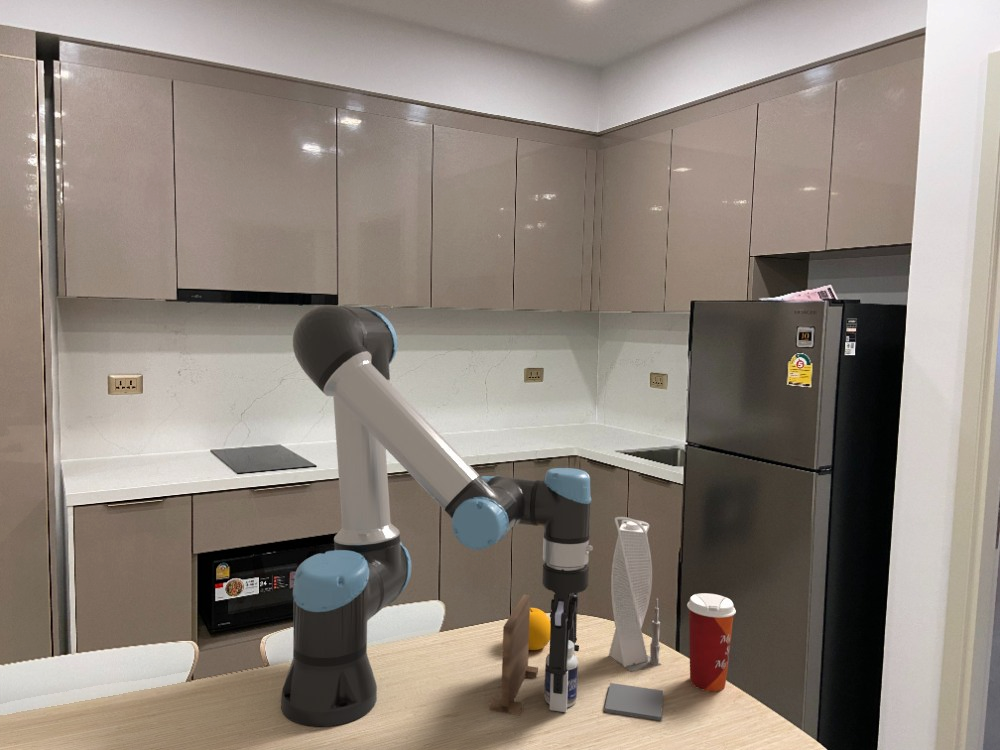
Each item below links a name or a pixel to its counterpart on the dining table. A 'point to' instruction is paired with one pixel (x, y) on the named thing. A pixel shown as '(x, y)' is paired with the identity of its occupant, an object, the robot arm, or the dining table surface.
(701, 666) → the coffee cup
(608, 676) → the dining table surface
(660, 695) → the coaster
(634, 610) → the skyscraper
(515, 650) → the screen
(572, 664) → the pill bottle
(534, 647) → the orange
